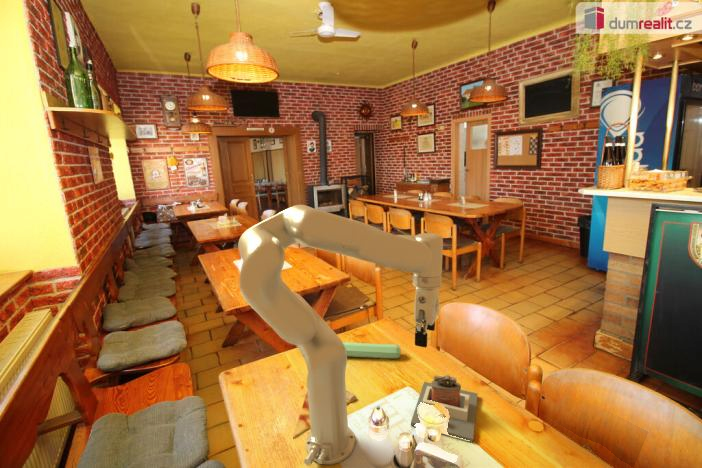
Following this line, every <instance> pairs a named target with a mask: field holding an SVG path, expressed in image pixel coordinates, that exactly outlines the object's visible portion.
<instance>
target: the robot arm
mask: <svg viewBox="0 0 702 468" xmlns="http://www.w3.org/2000/svg"><path fill="white" fill-rule="evenodd" d="M296 242H297V243H298V244H300V245H302V246H305V247H308V248H313V249H316V250H321V251H325V252H329V253H334V254H339V255H342V256H348V257H351V258H355V259H358V260H360V261H364V262H368V263H373V264H377V265H381V266H384V267H387V268H389V269H390V268H391V269H394V270H398V271H402V272H407V273H411V274H412V285H413V287H414V288H415V297H414V312H413V313H414V317H413V318H414V322H415V327H414V328H415V330H414V346H416V347H420V348H421V347H422V348H424V349H425V348H427V347H428V332H427V331H435V330H436V327H435V326H436V320H437V317H438V315H439V313H440V288H441V287H442V278H443V277H442V273H443V254H444V253H443V250H444V239H443V237H442V235H439V234H438V233H432V232H423V233H418V234H393V233H390V232H388V231H385V230H382V229H380V228H377V227H376V226H372V225H371V224H368V223H365V222H364V221H363V222H362V221H359V220H355V219H352V218H349V217H345V216H342V215H337V214H334V213H331V212H327V211H324V210H321V209H317V208H313V207H311V206H308V205H306V204H295V205H293V206H291V207H287V208H286V209H284V210H282V211H280V212H278V213H276V214H274V215H272V216H270V217H269V218H266V219H265V220H263V221H260V222H259V223H257V224H254V225H253V226H250V227H249V228H248V229H246V230H245V231H244V232H242V234H241V235H240V238H239V240H238V243H237V244H238V245H237V246H238V247H237V250H238V253H239V255H240V257H241V259H242V264H241V268H240V272H239V278H238V279H239V280H238V281H239V282H238V283H239V290H240V294H241V296H242V298H243V300H244V301H245V302H246V303H247V304H248V306H250V307H251V309H252V310H253V311H255V312H256V313H257V314H258V315H259V317H261V319H262V320H263V321H264V322H265V323H266V324H267V325H268V326H270V328H272V329H273V330H274V332H275V333H276V334H277V335H278V336H279V338H281V339H282V340H283V341H284V342H286V343H288V344H290V345H294V346H296V347H297V348H298V350H299V352H300V354H301V355H302V357H303V358H304V361H305V363H306V367H307V378H306V393H307V394H308V403H309V415H310V427H311V428H310V432H309V433H308V435H307V437H306V439H305V440H306V441H305V449H306V453H307V455H306V457H305V458H304V460H303V462H304V464H305V465H306V466H308V467H311V466H312V464H313V462H317V464H319V465H334V464H338V463H341V462H342V461H344V460H346V459H347V458H349V456H350V455H351V454H352V452H353V451H354V449H355V435H354V432H353V431H352V429H351V428H350V427H349V423H348V422H349V421H348V407H347V406H348V404H347V401H346V391H347V387H346V386H347V385H346V372H347V371H346V368H347V364H348V363H347V361H348V356H347V352H346V349H345V346H344V344H343V341H342V340H341V338H340V337H339V336H338V335H337V333H336V332H335V331H334V330H333V328H331V327H330V326H329V324H328V323H327V321H326V320H324V319H323V318H322V317H321V316H320V314H319V313H318V312H316V310H315V309H314V308H313V307H312V306H311V305H310V304H309V302H307V301H306V300H305V299H304V297H302V296H301V294H299V293H297V292H296V291H292V290H291V288H290V287H289V286H288V285H287V284H286V283H285V281H283V279H282V272H283V268H284V265H285V261H286V260H285V259H286V252H285V249H287V248H288V247H290V246H292V245H293V244H295V243H296Z"/></svg>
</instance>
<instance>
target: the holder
mask: <svg viewBox="0 0 702 468" xmlns="http://www.w3.org/2000/svg"><path fill="white" fill-rule="evenodd" d="M430 400H432V387H431V382H428V381H424V382H423V383H422V387H421V390H420V393H419V396H418V400H417V401H416V402H417V403H416V406H415V408H414V412H413V414H412V418H411V421H410V427H413V426H414V425H415V424H416V423H420V420H419V418H418V414H417V407H418V405H419V404H420V402H422V403H423V402H424V403H426V404H429V405H435V404H434V403H433V402H434V401H430ZM439 404H441V405H443V406H444V407H445V408H446V409H448V411H449V415H450V418H449V422H448V428H447V432H448V434H449V435H452V436H456V437H459V438H463V439H466V440H470V441H473V442H474V436H475V425H476V417H475V416H477V405H478V392H473V391H469V390H463V389H460V408H459V407H455V406H451V405H447V404H443V403H439ZM439 416H440V417H442V418H443V417H444V418H445V417H446V416H445V415H444V414H440V415H439Z"/></svg>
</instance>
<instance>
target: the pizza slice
mask: <svg viewBox="0 0 702 468" xmlns="http://www.w3.org/2000/svg"><path fill="white" fill-rule="evenodd" d="M356 399H357V396H356V395H355V394H353V393H352V392H350V391H348V390H346V401H347V405H348V404H350V403H351V402H353V401H354V400H356ZM309 429H311V427H310V415H309V403H308V394H307V392H306V394H305V396H304V401H303V404H302V406H301V410H300V413H299V416H298V420H297V423H296V427H295V429H294V432H293V437H292V439H295V438H297V437H299V436H300V435H301V434H303V433H304V432H306V431H308V430H309Z"/></svg>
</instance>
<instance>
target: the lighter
mask: <svg viewBox="0 0 702 468" xmlns="http://www.w3.org/2000/svg"><path fill="white" fill-rule="evenodd" d="M430 383H431V387H432V401H435V402H438V403H443V404H447V405H451V406H455V407H459V408H460V390H462V387H461V385H462V384H460V383H459V382H457V377H454V376H450V375H448V374H445V375H444V376H443V375H434V376H433V381H431V382H430Z"/></svg>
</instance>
